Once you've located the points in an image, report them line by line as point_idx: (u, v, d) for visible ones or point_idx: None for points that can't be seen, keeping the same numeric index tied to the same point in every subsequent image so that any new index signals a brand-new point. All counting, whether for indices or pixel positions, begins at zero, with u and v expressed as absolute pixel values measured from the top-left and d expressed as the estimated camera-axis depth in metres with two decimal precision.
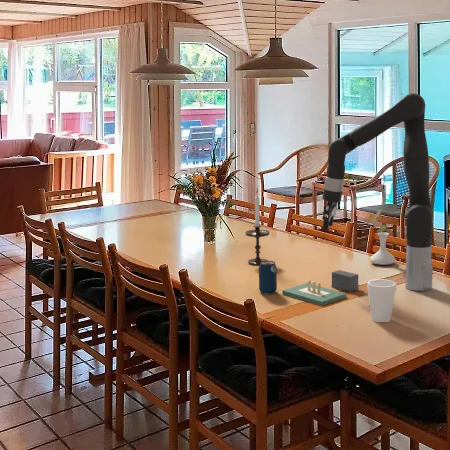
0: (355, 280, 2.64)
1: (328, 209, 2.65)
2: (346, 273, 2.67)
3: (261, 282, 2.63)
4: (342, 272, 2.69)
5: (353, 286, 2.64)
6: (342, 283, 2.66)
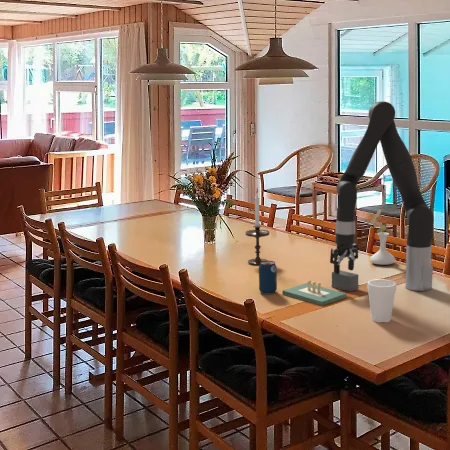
0: (355, 280, 2.64)
1: (334, 252, 2.60)
2: (346, 273, 2.67)
3: (261, 282, 2.63)
4: (342, 272, 2.69)
5: (353, 286, 2.64)
6: (342, 283, 2.66)
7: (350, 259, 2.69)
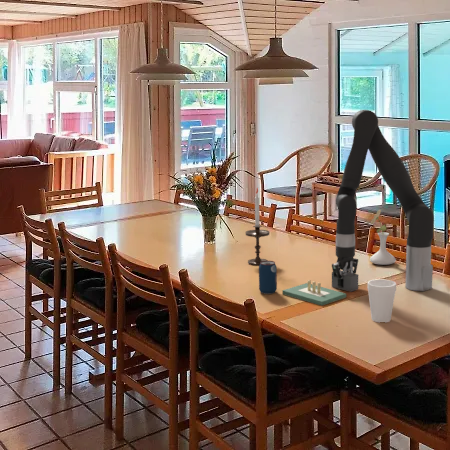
0: (355, 280, 2.64)
1: (335, 268, 2.62)
2: (346, 273, 2.67)
3: (261, 282, 2.63)
4: None
5: (353, 286, 2.64)
6: None
7: None
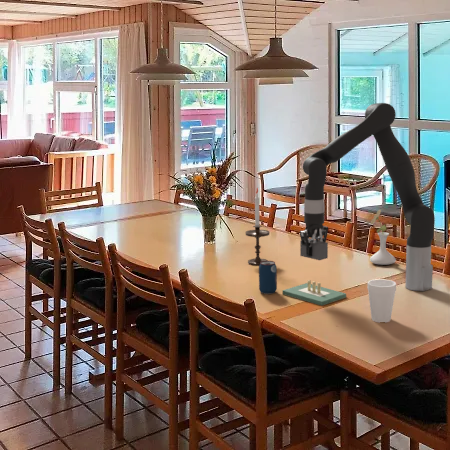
0: (324, 248, 2.53)
1: (303, 235, 2.50)
2: (315, 241, 2.55)
3: (261, 282, 2.63)
4: None
5: (322, 254, 2.52)
6: None
7: None
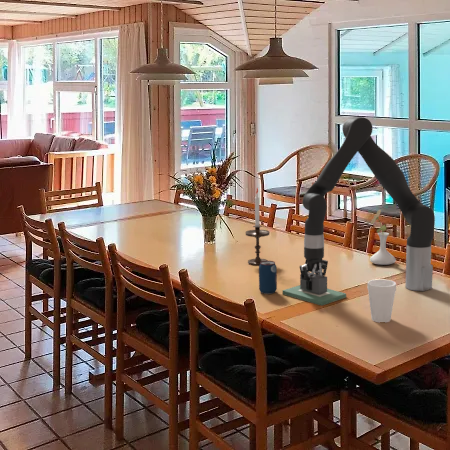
0: (324, 283, 2.55)
1: (303, 270, 2.53)
2: (315, 275, 2.58)
3: (261, 282, 2.63)
4: None
5: (321, 289, 2.55)
6: None
7: None
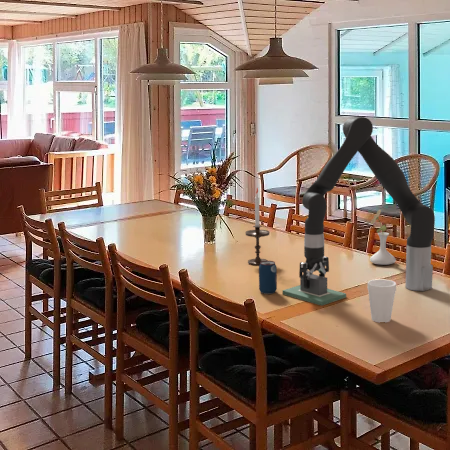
0: (324, 284, 2.55)
1: (303, 266, 2.52)
2: (315, 276, 2.58)
3: (261, 282, 2.63)
4: (311, 275, 2.60)
5: (322, 290, 2.55)
6: (310, 287, 2.57)
7: (321, 272, 2.61)
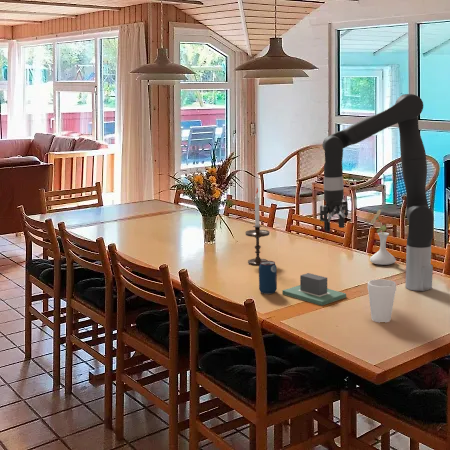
0: (324, 284, 2.55)
1: (323, 209, 2.56)
2: (315, 276, 2.58)
3: (261, 282, 2.63)
4: (311, 275, 2.60)
5: (322, 290, 2.55)
6: (310, 287, 2.57)
7: (340, 216, 2.65)
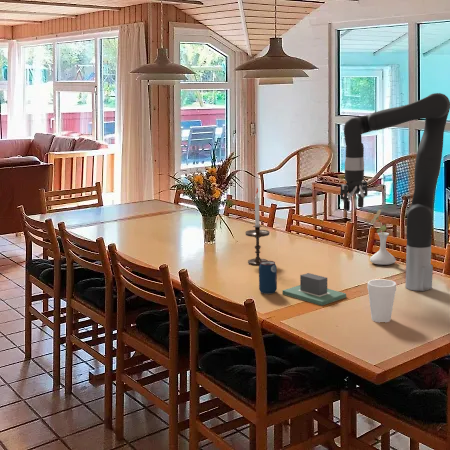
0: (324, 284, 2.55)
1: (344, 188, 2.65)
2: (315, 276, 2.58)
3: (261, 282, 2.63)
4: (311, 275, 2.60)
5: (322, 290, 2.55)
6: (310, 287, 2.57)
7: (360, 196, 2.74)
